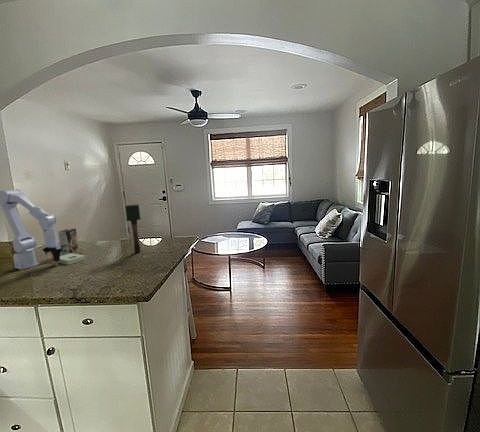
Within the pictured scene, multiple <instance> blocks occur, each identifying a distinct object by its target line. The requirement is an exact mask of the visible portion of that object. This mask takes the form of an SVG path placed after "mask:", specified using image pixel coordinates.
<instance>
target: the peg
mask: <svg viewBox="0 0 480 432" xmlns="http://www.w3.org/2000/svg"><path fill="white" fill-rule="evenodd" d="M46 257H47V262H48V264H51V267H57V266H59V263H58V262H59V261H60V259H59V261H55V260H54V257H53V255H52V253H51V251H49V252H47V255H46Z"/></svg>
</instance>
